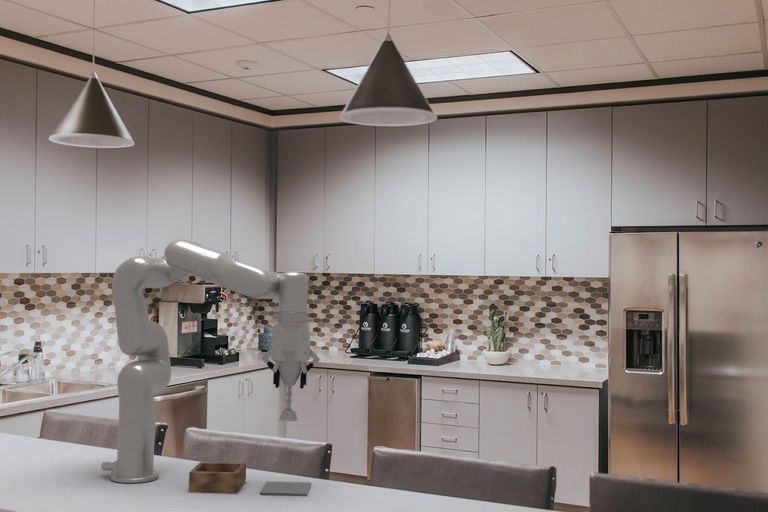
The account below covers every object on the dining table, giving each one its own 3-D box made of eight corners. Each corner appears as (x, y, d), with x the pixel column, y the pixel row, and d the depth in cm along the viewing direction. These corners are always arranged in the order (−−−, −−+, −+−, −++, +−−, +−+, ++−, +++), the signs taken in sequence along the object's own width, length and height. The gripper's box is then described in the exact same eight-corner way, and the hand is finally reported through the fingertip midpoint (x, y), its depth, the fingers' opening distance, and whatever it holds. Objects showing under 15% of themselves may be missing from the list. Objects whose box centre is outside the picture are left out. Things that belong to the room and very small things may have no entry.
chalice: (296, 422, 198) (299, 352, 199) (271, 420, 199) (274, 351, 200) (305, 418, 205) (307, 350, 206) (280, 416, 206) (283, 349, 207)
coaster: (259, 494, 195) (259, 492, 195) (266, 483, 207) (266, 481, 207) (306, 496, 195) (307, 493, 195) (311, 484, 207) (311, 482, 207)
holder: (188, 492, 196) (189, 472, 196) (199, 480, 208) (200, 462, 208) (237, 493, 196) (238, 473, 196) (245, 482, 208) (246, 463, 208)
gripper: (257, 318, 200) (254, 388, 199) (323, 320, 200) (321, 390, 199) (261, 317, 207) (259, 385, 206) (325, 319, 207) (323, 387, 206)
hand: (289, 387), depth 203 cm, fingers closed on chalice, 5 cm apart
